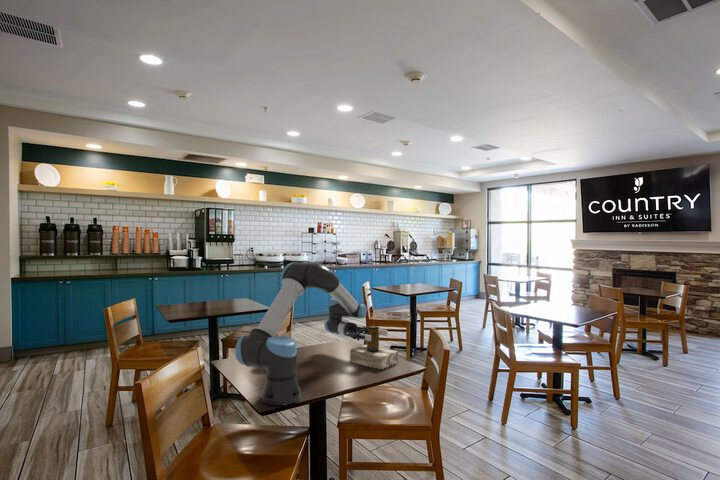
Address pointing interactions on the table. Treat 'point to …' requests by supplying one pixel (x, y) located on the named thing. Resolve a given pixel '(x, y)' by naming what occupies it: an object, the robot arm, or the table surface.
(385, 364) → the block
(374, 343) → the condiment
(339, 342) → the table surface
